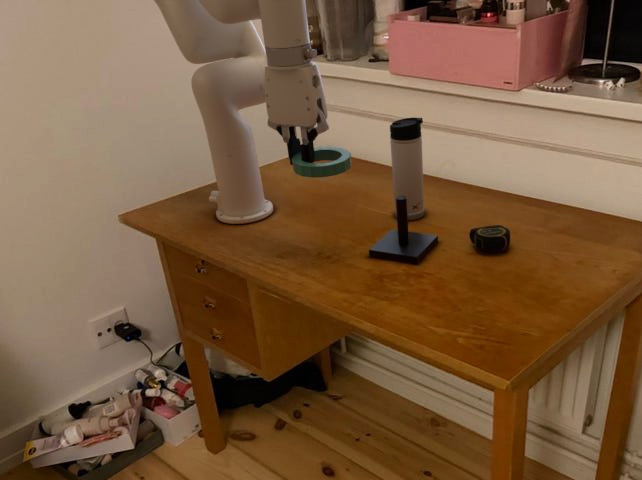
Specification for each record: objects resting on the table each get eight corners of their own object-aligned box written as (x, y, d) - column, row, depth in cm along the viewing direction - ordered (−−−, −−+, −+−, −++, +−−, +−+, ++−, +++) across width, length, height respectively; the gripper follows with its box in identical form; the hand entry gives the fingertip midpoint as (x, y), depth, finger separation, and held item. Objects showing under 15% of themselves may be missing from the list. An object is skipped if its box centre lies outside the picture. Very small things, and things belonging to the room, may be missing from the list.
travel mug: (423, 221, 146) (419, 123, 135) (392, 220, 147) (386, 123, 136) (428, 209, 151) (424, 114, 140) (398, 209, 152) (392, 115, 141)
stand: (369, 257, 134) (364, 204, 128) (392, 236, 141) (388, 185, 135) (417, 264, 130) (414, 210, 124) (438, 242, 137) (436, 190, 131)
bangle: (282, 174, 125) (281, 163, 124) (313, 155, 132) (311, 144, 131) (333, 180, 121) (332, 168, 120) (361, 160, 128) (360, 149, 127)
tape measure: (503, 239, 136) (503, 220, 134) (514, 253, 130) (515, 234, 128) (468, 243, 135) (468, 225, 133) (479, 258, 130) (479, 239, 128)
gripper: (340, 52, 117) (350, 161, 128) (262, 49, 124) (277, 153, 134) (317, 63, 112) (329, 175, 122) (237, 59, 118) (255, 166, 129)
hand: (302, 162), depth 128 cm, fingers closed on bangle, 2 cm apart
